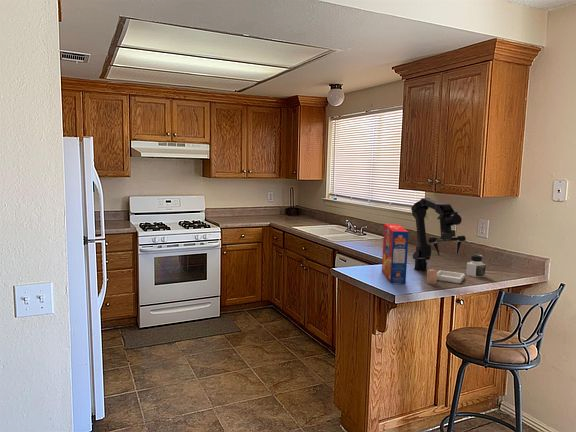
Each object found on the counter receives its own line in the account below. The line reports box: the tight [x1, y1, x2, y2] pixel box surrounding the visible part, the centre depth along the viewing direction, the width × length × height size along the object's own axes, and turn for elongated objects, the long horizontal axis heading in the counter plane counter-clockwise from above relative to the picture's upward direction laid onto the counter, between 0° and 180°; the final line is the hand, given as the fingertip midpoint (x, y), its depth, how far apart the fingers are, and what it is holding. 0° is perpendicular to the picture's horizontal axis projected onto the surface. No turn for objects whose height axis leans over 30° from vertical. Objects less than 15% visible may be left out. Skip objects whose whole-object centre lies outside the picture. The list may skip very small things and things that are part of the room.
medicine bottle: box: [465, 254, 487, 278], centre depth 253 cm, size 7×7×12 cm
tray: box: [437, 270, 466, 284], centre depth 245 cm, size 14×14×2 cm
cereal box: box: [381, 223, 410, 285], centre depth 244 cm, size 28×8×28 cm, turn 177°
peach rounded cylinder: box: [426, 268, 438, 285], centre depth 235 cm, size 5×5×7 cm
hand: (448, 255), depth 238 cm, fingers open, 9 cm apart
